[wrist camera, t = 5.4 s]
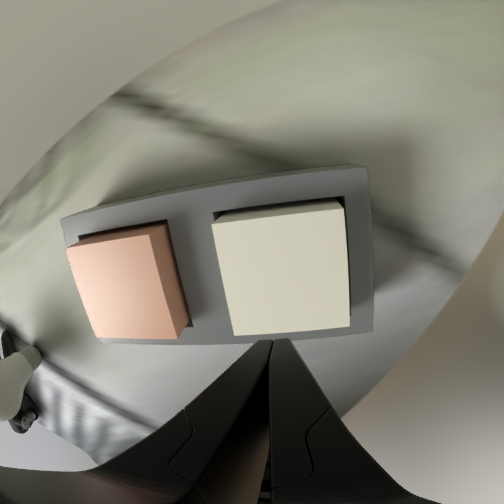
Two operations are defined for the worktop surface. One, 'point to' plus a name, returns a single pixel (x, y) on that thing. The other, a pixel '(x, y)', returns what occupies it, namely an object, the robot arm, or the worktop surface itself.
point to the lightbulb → (16, 379)
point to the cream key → (284, 266)
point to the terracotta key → (131, 282)
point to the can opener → (27, 408)
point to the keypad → (204, 250)
